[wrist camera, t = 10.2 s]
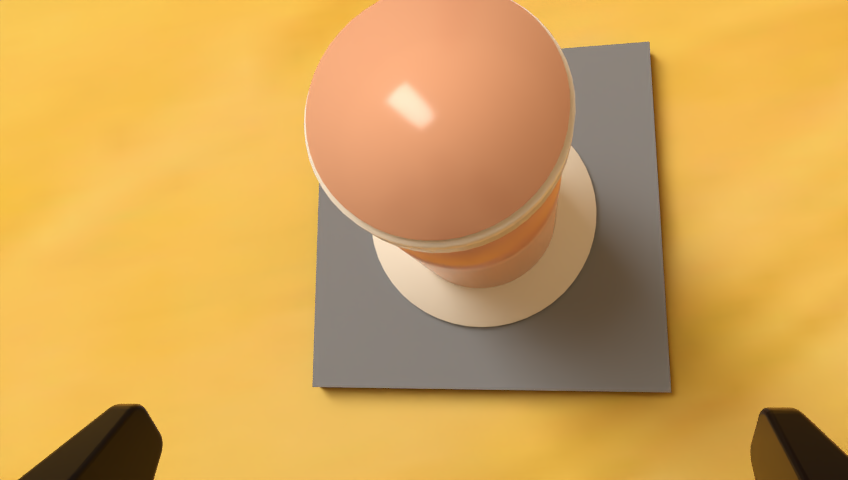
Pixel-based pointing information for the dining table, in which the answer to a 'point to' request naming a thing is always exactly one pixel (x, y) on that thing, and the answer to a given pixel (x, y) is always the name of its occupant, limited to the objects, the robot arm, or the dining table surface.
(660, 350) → the card
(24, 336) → the dining table surface
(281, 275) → the dining table surface
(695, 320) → the dining table surface
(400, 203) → the terracotta tube
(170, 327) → the dining table surface
